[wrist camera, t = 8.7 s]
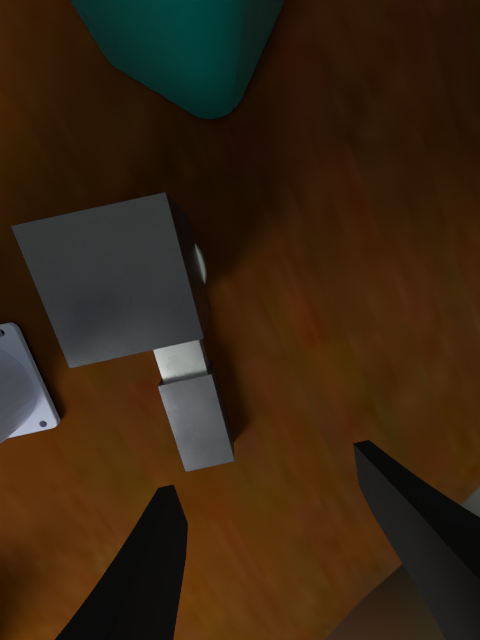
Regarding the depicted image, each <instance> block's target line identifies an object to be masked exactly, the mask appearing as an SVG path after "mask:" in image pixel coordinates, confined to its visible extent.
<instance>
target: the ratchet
mask: <svg viewBox="0 0 480 640" xmlns="http://www.w3.org/2000/svg"><path fill="white" fill-rule="evenodd" d="M194 242H195V241H194ZM195 246H196V250H197V255H198V259H199V263H200V267H201V271H202V275H203V279H204V283H205V285H206V280H207V267H206V262H205V259H204V256H203V254H202V251H201V250H200V248H199V246H198V245H197V244H196V242H195ZM154 354H155V357H156V360H157V363H158V366H159V369H160V372H161V375H162V379H161V381H160V383H159V385H158V388H159V391H160V394H161V397H162V401H163V404H164V407H165V410H166V413H167V416H168V419H169V422H170V425H171V428H172V431H173V434H174V437H175V440H176V443H177V446H178V449H179V452H180V456H181V459H182V462H183V465H184V468H185V471H186V472H187V471H192V470H196V469H201V468H205V467H210V466H214V465H219V464H223V463H228V462H232V461H235V460H234V442H233V438H232V434H231V430H230V426H229V422H228V419H227V415H226V411H225V407H224V403H223V399H222V396H221V392H220V388H219V384H218V380H217V376H216V372H215V369H214V365H213V363H209V362H208V358H207V354H206V351H205V347H204V343H203V339H200V340H196V341H191V342H187V343H182V344H177V345H173V346H168V347H164V348H159V349H155V350H154Z"/></svg>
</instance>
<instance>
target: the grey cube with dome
mask: <svg viewBox="0 0 480 640" xmlns="http://www.w3.org/2000/svg"><path fill="white" fill-rule="evenodd" d="M11 227H12V230H13V232H14V235H15V237H16V240H17V242H18V244H19V247H20V249H21V252H22V254H23V256H24V259H25V261H26V264H27V266H28V269H29V271H30V273H31V276H32V278H33V281H34V283H35V286H36V288H37V290H38V293H39V295H40V298H41V300H42V302H43V305H44V307H45V310H46V312H47V315H48V317H49V319H50V322H51V324H52V327H53V329H54V332H55V334H56V336H57V339H58V341H59V344H60V346H61V349H62V351H63V353H64V356H65V358H66V361H67V363H68V365H69V368H73V367H77V366H82V365H86V364H91V363H96V362H100V361H105V360H109V359H114V358H118V357H123V356H127V355H132V354H137V353H141V352H146V351H150V350H155V349H159V348H164V347H168V346H173V345H177V344H182V343H187V342H191V341H196V340H200V339H204V336H205V332H206V327H207V323H208V319H209V315H210V311H211V307H210V303H209V299H208V295H207V291H206V287H205V283H204V279H203V275H202V271H201V267H200V263H199V259H198V255H197V250H196V246H195V242H194V238H193V234H192V230H191V226H190V222H189V218H188V215H187V214H186V213H185V212H184V211H183V210H182V209H181V208H180V207H179V206H178V205H177V204H176V202H175V201H174V200H173V199H172V198H171V197H170V196H169V195H168V194H167V193H166V192H164V193H160V194H155V195H151V196H146V197H142V198H137V199H132V200H128V201H123V202H119V203H114V204H110V205H105V206H100V207H96V208H91V209H87V210H82V211H78V212H73V213H68V214H64V215H59V216H55V217H50V218H46V219H41V220H36V221H32V222H27V223H23V224H18V225H14V226H11Z"/></svg>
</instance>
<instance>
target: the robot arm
mask: <svg viewBox="0 0 480 640" xmlns="http://www.w3.org/2000/svg"><path fill="white" fill-rule="evenodd" d="M1 330H3V331H4V333H5V335H4V334H2V332H1ZM43 421H45V422H46V423H47V424H46V423H44V422H43ZM59 423H60V418H59V415H58V413H57V411H56V409H55V406H54V404H53V402H52V400H51V398H50V395H49V393H48V391H47V389H46V386H45V384H44V382H43V380H42V377H41V375H40V373H39V371H38V369H37V366H36V364H35V362H34V360H33V357H32V355H31V353H30V351H29V348H28V346H27V344H26V342H25V340H24V337H23V335H22V333H21V331H20V328H19V327H18V325H16V324H15V323H5V324H0V444H1V443H2V442H3V441H4V440H5V439H6V438H10V437H15V436H19V435H24V434H28V433H33V432H37V431H42V430H46V429H51V428H54V427H56V426H57V425H58V424H59ZM353 445H354V453H355V460H356V467H357V475H358V482H359V486H360V488H361V490H362V493H363V495H364V497H365V499H366V501H367V503H368V505H369V507H370V509H371V511H372V513H373V515H374V517H375V518H376V520H377V522H378V523H379V525H380V527H381V528H382V530H383V532H384V533H385V535H386V537H387V538H388V540H389V542H390V543H391V545H392V547H393V548H394V550H395V551H396V553H397V555H398V556H399V558H400V560H401V561H402V563H403V565H404V566H405V568H406V570H407V571H408V573H409V574H410V576H411V578H412V579H413V581H414V583H415V584H416V586H417V587H418V589H419V591H420V593H421V595H422V596H423V598H424V600H425V602H426V603H427V605H428V607H429V609H430V611H431V612H432V614H433V617H434V618H435V620H436V622H437V624H438V626H439V628H440V630H441V632H442V633H443V636H444V638H445V640H480V517H478V516H476V515H475V514H473V513H471V512H470V511H468V510H466V509H465V508H464V507H462V506H460V505H459V504H457V503H456V502H454V501H453V500H451V499H450V498H448V497H447V496H445V495H443V494H442V493H440V492H439V491H437V490H436V489H435V488H433V487H432V486H430V485H429V484H427V483H426V482H424V481H423V480H422V479H420V478H419V477H417V476H416V475H415V474H413V473H412V472H410V471H409V470H408V469H406V468H405V467H404V466H402V465H401V464H400V463H398V462H397V461H396V460H394V459H393V458H392V457H390V456H389V455H388V454H386V453H385V452H384V451H382V450H381V449H380V448H379V447H377V446H376V445H375V444H373V443H372V442H371V441H369V440H367V441H362V442H358V443H354V444H353ZM187 530H188V523H187V520H186V517H185V515H184V512H183V509H182V506H181V504H180V501H179V498H178V495H177V493H176V490H175V487H174V485H169V486H165V487H161V488H158V490H157V491H156V493H155V494H154V496H153V498H152V499H151V501H150V502H149V504H148V506H147V507H146V509H145V511H144V512H143V514H142V516H141V517H140V519H139V521H138V522H137V524H136V526H135V527H134V529H133V530H132V532H131V534H130V535H129V537H128V538H127V540H126V541H125V543H124V545H123V546H122V548H121V549H120V551H119V552H118V554H117V556H116V557H115V558H114V560H113V561H112V563H111V564H110V566H109V567H108V569H107V570H106V572H105V573H104V575H103V576H102V578H101V579H100V581H99V582H98V583H97V585H96V586H95V588H94V589H93V590H92V592H91V593H90V595H89V596H88V597H87V599H86V600H85V602H84V603H83V604H82V606H81V607H80V608H79V610H78V611H77V612H76V613H75V615H74V616H73V617H72V619H71V620H70V621H69V623H68V624H67V625H66V626H65V628H64V629H63V630H62V631H61V633H60V634H59V635H58V636H57V638H56V639H55V640H173V637H174V631H175V624H176V618H177V612H178V605H179V599H180V593H181V586H182V580H183V573H184V567H185V560H186V548H187Z"/></svg>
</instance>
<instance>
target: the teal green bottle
mask: <svg viewBox="0 0 480 640" xmlns="http://www.w3.org/2000/svg"><path fill="white" fill-rule="evenodd" d="M69 1H70V2H71V4H72V6H73V7H74V9H75V11H76V12H77V14H78V15H79V17H80V19H81V20H82V22H83V24H84V25H85V27H86V28H87V30H88V32H89V33H90V35H91V37H92V38H93V40H94V41H95V43H96V45H97V46H98V48H99V49H100V51H101V52H102V53H103V55H104V56H105V57H106V58H107V60H108V61H109V62H110V63H111V65H112V66H114V67H116V68H117V69H119V70H121V71H122V72H124V73H126V74H127V75H129V76H131V77H132V78H134V79H135V80H137V81H139V82H140V83H142V84H144V85H145V86H147V87H149V88H150V89H152V90H154V91H155V92H157V93H159V94H160V95H162V96H163V97H165V98H167V99H168V100H170V101H172V102H173V103H175V104H177V105H178V106H180V107H182V108H183V109H185V110H186V111H188V112H190V113H191V114H193V115H195V116H196V117H198V118H204V119H216V118H219V117H222V116H225V115H228V114H229V113H230V112H231V111H232V110H233V109H234V108H235V107H236V106H238V105H239V104H240V101H241V99H242V97H243V95H244V92H245V90H246V88H247V86H248V83H249V81H250V79H251V77H252V74H253V72H254V70H255V68H256V65H257V63H258V61H259V59H260V56H261V54H262V52H263V50H264V47H265V45H266V43H267V41H268V38H269V36H270V34H271V32H272V29H273V27H274V25H275V23H276V20H277V18H278V16H279V14H280V11H281V9H282V7H283V5H284V1H285V0H69Z"/></svg>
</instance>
